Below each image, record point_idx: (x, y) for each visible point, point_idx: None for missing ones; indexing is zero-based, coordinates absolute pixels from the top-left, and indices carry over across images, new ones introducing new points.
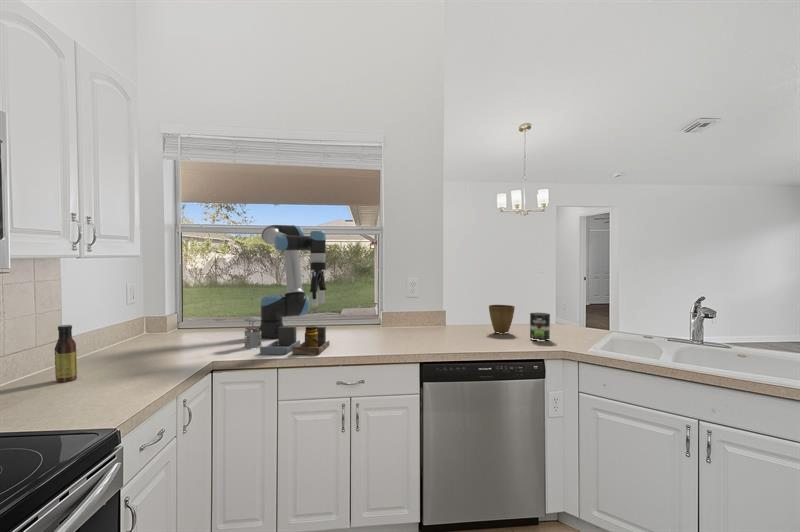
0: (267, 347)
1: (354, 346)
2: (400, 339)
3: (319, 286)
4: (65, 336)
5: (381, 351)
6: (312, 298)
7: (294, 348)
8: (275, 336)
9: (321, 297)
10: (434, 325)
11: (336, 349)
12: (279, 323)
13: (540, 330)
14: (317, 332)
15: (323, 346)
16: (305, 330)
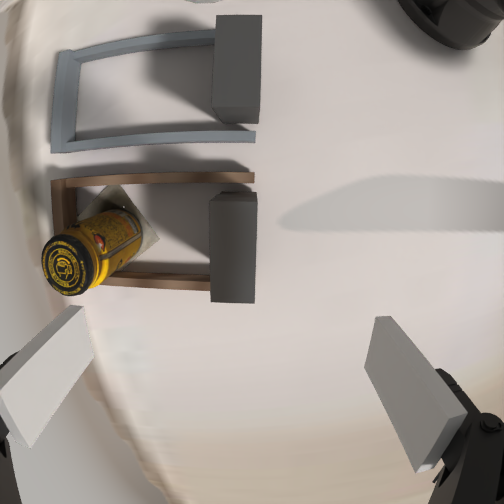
0: (56, 79)
1: (244, 374)
2: (356, 459)
3: (451, 491)
4: None
5: (175, 437)
6: (31, 350)
7: (53, 188)
8: (409, 9)
9: (394, 382)
10: None
11: (180, 321)
12: (464, 6)
13: None
14: (90, 287)
15: (134, 286)
16: (60, 233)
